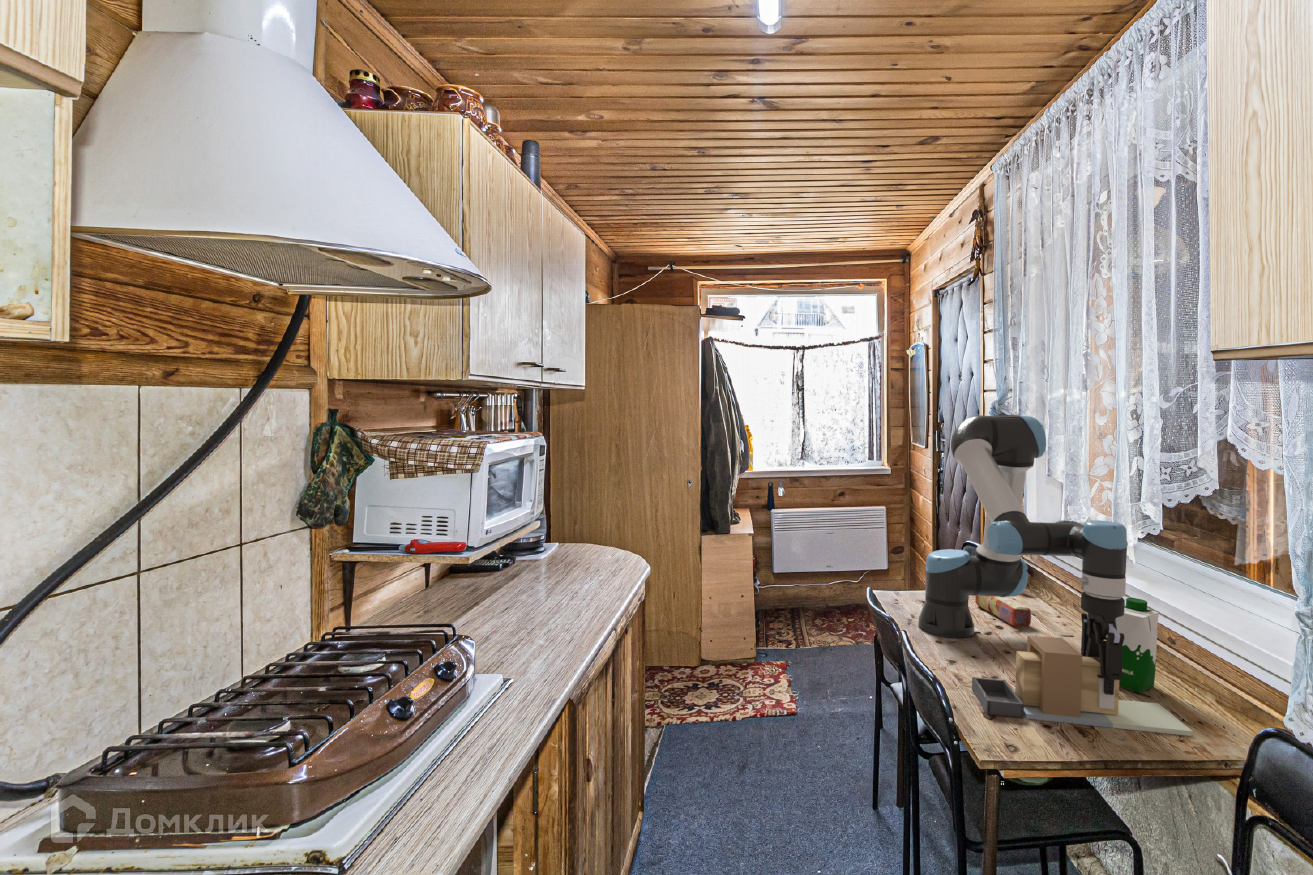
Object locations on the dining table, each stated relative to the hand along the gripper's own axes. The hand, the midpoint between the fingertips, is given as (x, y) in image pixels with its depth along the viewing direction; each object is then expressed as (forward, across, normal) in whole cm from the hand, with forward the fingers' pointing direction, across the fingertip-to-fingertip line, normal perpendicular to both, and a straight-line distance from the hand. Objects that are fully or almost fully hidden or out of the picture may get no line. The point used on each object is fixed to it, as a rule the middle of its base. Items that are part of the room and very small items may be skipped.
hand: (1099, 701), depth 131 cm
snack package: (+3, -65, 0) cm, 65 cm away
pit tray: (+3, 0, -20) cm, 20 cm away
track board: (+3, 0, -1) cm, 3 cm away
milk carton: (+3, -18, +14) cm, 23 cm away
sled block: (+1, 0, -7) cm, 7 cm away
